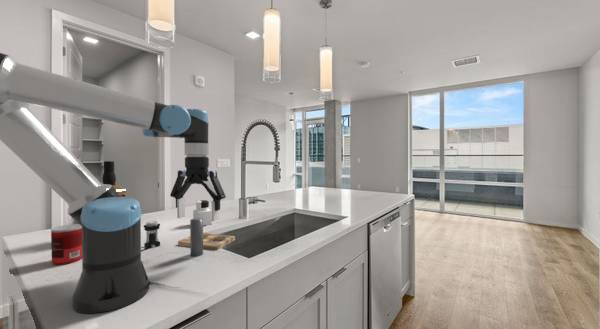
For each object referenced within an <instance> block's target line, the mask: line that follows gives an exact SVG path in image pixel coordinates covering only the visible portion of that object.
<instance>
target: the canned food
mask: <svg viewBox="0 0 600 329" xmlns="http://www.w3.org/2000/svg"><path fill="white" fill-rule="evenodd" d="M50 232H51V234H50V238H51V239H50V240H51V241H50V242H51V244H50V245H51V247H50V248H51V263H52V265H55V266H64V265H70V264H74V263H77V262H79V261H81V260H82V226H81V225H80V224H79V223H72V224H64V225H59V226H55V227H53V228H51V231H50Z"/></svg>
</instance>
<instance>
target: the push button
mask: <svg viewBox="0 0 600 329" xmlns="http://www.w3.org/2000/svg"><path fill="white" fill-rule="evenodd" d="M160 226H161V223H158V221H156V220H153V221H151V220H150V221H147V222H146V224H144V225H143V228H144V231H146V233H145V234H146V239H145V243H144V244H143V245H144V246H141V252H142V251H147V250H149V249H155V248H158V247H161V241H159V238H158V235H159V234H158V233H159V232H158V230H160Z"/></svg>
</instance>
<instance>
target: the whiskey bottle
mask: <svg viewBox="0 0 600 329" xmlns="http://www.w3.org/2000/svg"><path fill="white" fill-rule="evenodd" d="M116 180H117V178H116V173H115V161H113V160H105V161H103V174H102V184H107V185H112V186H113V187H114V189H115V190H116V191H117V192H118V193H119V194H120V195H121V196H122V197H126V194H127V189H126V188H124V187H123V186H120V185H117V184H116V182H117V181H116Z"/></svg>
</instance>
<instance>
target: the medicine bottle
mask: <svg viewBox="0 0 600 329" xmlns="http://www.w3.org/2000/svg"><path fill="white" fill-rule="evenodd" d="M209 203H210V202H209V201H208V200H204V199H203V200H202V199H201V200H197V201H196V202H195V209H193V210H192V216H193V217H192V219H194V218H203V227H204V225H205V226H210V224H211V225H212V224H213V221H212V209H210V208H209V207H210V204H209Z"/></svg>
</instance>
